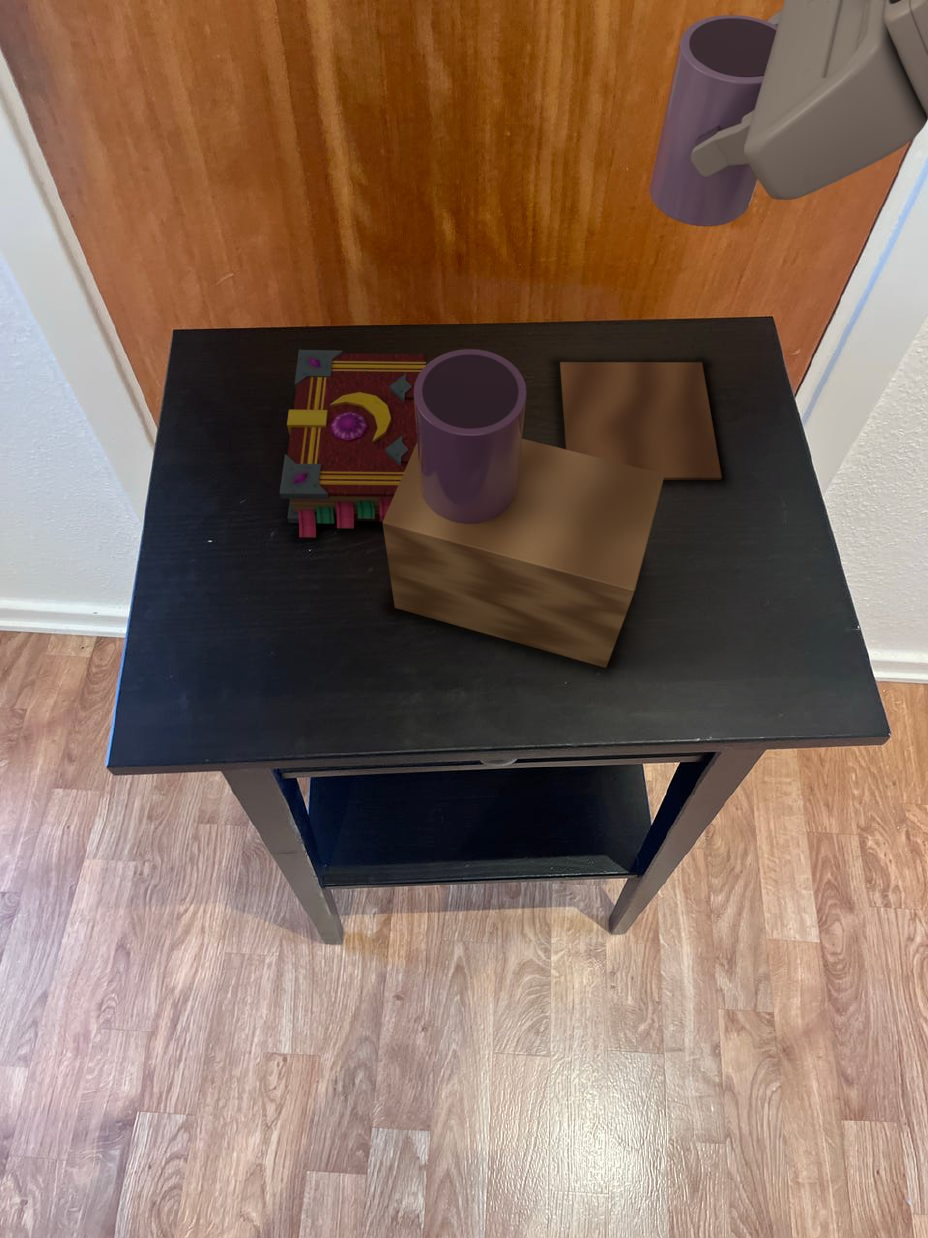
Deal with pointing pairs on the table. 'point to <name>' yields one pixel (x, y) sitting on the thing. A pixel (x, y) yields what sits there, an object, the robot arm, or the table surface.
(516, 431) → the plum cup
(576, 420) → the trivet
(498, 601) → the block
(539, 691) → the table surface
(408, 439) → the decorative book
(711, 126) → the lavender cup
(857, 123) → the robot arm
